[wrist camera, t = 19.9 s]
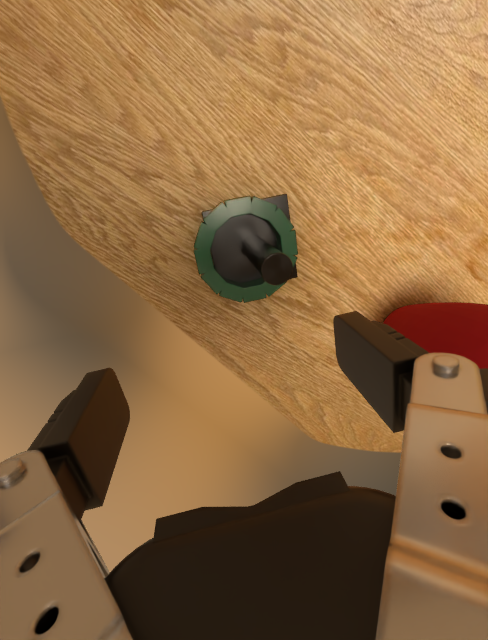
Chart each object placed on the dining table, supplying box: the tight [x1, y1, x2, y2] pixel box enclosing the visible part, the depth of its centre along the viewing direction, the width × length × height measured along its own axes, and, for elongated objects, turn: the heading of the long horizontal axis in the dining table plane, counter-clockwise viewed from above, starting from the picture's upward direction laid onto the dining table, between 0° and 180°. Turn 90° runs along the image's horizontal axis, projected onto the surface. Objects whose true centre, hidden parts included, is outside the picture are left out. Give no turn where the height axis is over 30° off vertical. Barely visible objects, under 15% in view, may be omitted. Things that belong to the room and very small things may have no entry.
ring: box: [194, 196, 298, 303], centre depth 32 cm, size 10×10×2 cm
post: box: [202, 194, 297, 285], centre depth 28 cm, size 9×9×13 cm
